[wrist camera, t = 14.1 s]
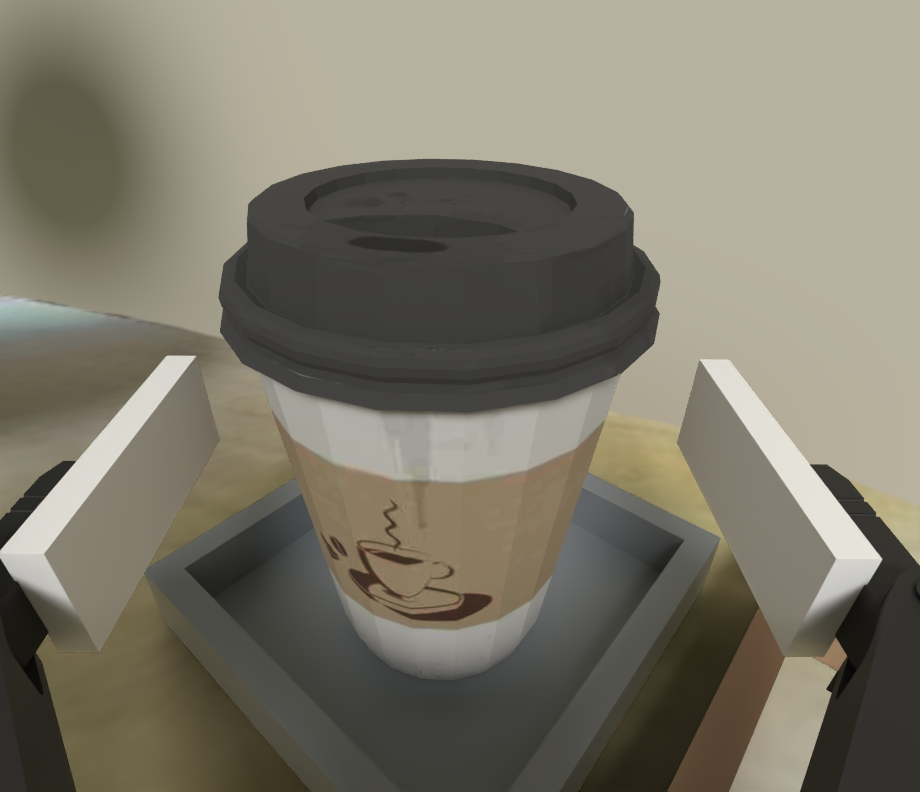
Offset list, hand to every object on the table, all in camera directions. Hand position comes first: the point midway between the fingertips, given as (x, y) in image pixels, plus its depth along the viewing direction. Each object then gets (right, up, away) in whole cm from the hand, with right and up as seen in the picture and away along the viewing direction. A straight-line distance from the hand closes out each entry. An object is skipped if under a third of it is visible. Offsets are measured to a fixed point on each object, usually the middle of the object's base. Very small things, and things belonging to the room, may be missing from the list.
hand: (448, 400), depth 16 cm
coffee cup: (0, -8, +7) cm, 10 cm away
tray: (0, -8, +7) cm, 11 cm away
